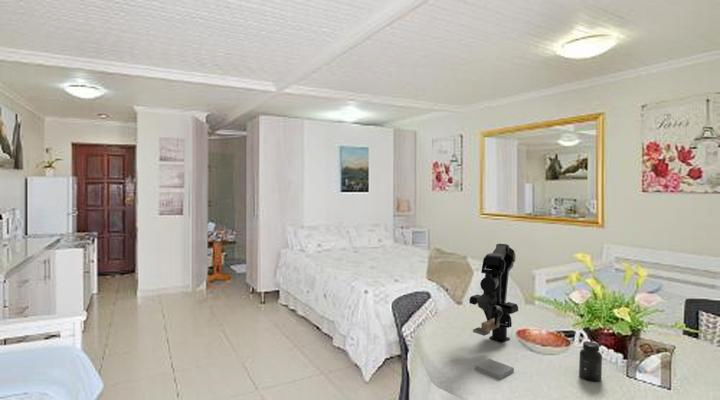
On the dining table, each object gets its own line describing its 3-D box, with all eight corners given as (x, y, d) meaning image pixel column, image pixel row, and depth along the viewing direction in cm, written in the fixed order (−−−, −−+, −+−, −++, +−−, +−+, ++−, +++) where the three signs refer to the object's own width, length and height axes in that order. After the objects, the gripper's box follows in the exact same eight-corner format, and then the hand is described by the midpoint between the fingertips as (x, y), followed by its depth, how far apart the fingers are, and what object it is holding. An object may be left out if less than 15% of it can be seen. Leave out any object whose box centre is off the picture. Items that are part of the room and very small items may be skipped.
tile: (489, 358, 156) (475, 365, 150) (513, 367, 148) (500, 375, 143) (489, 364, 156) (475, 371, 150) (513, 373, 149) (500, 381, 143)
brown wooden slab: (490, 324, 171) (491, 317, 170) (502, 327, 167) (502, 320, 167) (472, 332, 162) (473, 324, 162) (484, 335, 158) (484, 328, 158)
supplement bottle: (574, 375, 147) (575, 341, 146) (588, 372, 149) (589, 339, 149) (591, 383, 140) (592, 348, 140) (606, 380, 143) (607, 346, 143)
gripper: (461, 285, 168) (461, 323, 168) (504, 295, 154) (503, 336, 154) (477, 280, 175) (476, 317, 176) (519, 289, 161) (518, 329, 162)
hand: (492, 324), depth 167 cm, fingers closed on brown wooden slab, 3 cm apart
